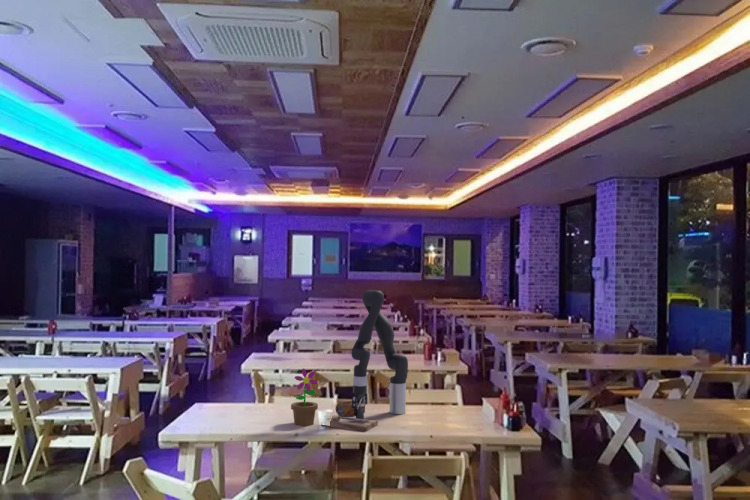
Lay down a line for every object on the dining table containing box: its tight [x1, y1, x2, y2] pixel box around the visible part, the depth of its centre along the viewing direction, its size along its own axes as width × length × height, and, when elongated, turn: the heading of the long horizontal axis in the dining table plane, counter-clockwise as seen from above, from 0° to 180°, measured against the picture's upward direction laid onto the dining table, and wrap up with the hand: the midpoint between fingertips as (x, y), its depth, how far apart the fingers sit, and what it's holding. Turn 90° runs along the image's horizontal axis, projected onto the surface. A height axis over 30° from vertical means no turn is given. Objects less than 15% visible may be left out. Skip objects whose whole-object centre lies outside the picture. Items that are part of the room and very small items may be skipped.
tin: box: [335, 399, 355, 417], centre depth 369 cm, size 15×3×8 cm, turn 112°
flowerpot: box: [290, 368, 319, 427], centre depth 349 cm, size 14×14×30 cm
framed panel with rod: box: [330, 414, 379, 432], centre depth 347 cm, size 14×26×2 cm, turn 65°
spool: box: [355, 403, 366, 423], centre depth 357 cm, size 5×5×9 cm
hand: (359, 414), depth 357 cm, fingers open, 8 cm apart
